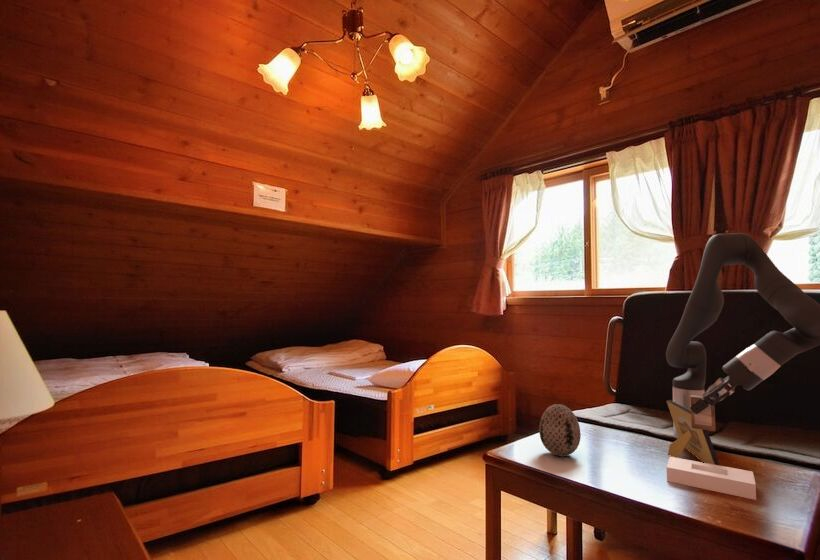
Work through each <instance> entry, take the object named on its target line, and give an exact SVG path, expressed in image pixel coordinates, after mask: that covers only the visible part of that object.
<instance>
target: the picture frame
mask: <svg viewBox="0 0 820 560" xmlns="http://www.w3.org/2000/svg"><path fill="white" fill-rule="evenodd" d="M666 404H667V407H668V409H669V413H670V415H671V419H672V421H673V422H674V425H675V428H676V431H677V434H678V437H679V438H678V439H677V438H676V439H675V440H674V441H673V442H672V443H670V444H669V446H668V452H667V456H668V455H671V456H674V457H677V458H680V456H681V454H682V452H683V451H684V450H686V449H687V450H689V451H690V452H691V453H693V454H694V455H695V456H697V457H698V458H699V459H700V460H702V461H703V462H704V463H708V464H714V465H719V466H721V465H720V463H719V460H718V457H717V454H716V451H715V448H714V445H713V443H712V439H711V436H710V434H709V430H702V429H694V428H692V421H691V411H690V410H688V409H686V408H684V407H682V406H680V405H679V404H677V403H675V402H673V400H672V399H668V400H666ZM673 422H672V423H673ZM684 448H686V449H684ZM687 450H686V451H687ZM690 452H689V453H690ZM691 453H690V454H691ZM694 455H693V456H694ZM671 456H670V457H671ZM695 456H694V457H695ZM698 458H697V459H698ZM699 459H698V460H699ZM700 460H699V461H700Z"/></svg>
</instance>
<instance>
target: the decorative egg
mask: <svg viewBox="0 0 820 560" xmlns="http://www.w3.org/2000/svg"><path fill="white" fill-rule="evenodd" d="M540 417H541V418H540V421H539V428H538V429H539V431H538V432H539V438H540V441H541V443H542V446H544V447H545V449H546V450H547V451H548V452H549V453H551V454H553V455H554V456H559V457H567V456H569V455H571V454H573V453H574V452H575V451H576V450H577V449H578V447H579V446H580V443H581V442H580V441H581V438H582V437H581V435H582V433H581V427H580V423H579V421H578V418H577V416H576V414H575V413H574V411H572V410H571V408H569V407H567V406H566V405H564V404H562V403H561V404H560V403H555V404H552V405H549V406H548V407H547V408H546V409H545V411H544V412H543V414H542V415H541V416H540Z"/></svg>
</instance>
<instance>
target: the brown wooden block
mask: <svg viewBox="0 0 820 560" xmlns="http://www.w3.org/2000/svg"><path fill="white" fill-rule="evenodd" d="M701 398H702V396H697V395H691V406H692V405H693V404H695V403H696V402H697V401H699V400H700V399H701ZM709 398H711V399H712V400H714V397H709ZM691 421H692V428H694V429H702V430H708V432H709V431H711V432H716V411H715V405H712V406H708V407H707V408H705V409H704V410H703V411H701V412H700V413H699V414H695V413H694V412H693V411H692V410H691Z"/></svg>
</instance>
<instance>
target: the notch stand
mask: <svg viewBox="0 0 820 560" xmlns="http://www.w3.org/2000/svg"><path fill="white" fill-rule="evenodd" d="M719 465H720V464H719ZM719 465H714V464H708V463H703V462H701V461H698V460H697V461H696V460H690V459H684V458H680V457H678V458H675V457H671V456H669V459H668V461H667V464H666V482H670V483H674V484H679V485H684V486H687V487H688V486H689V487H692V488H697V489H702V490H707V491H711V492H712V491H713V492H717V493H722V494H726V495H731V496H736V497H741V498H746V499H750V500H754V501H756V500H757V485H756V480H755V475H754V472H753V471H751V470H745V469H740V468H736V467H735V468H734V467H730V466H723V465H720V466H719Z"/></svg>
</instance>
